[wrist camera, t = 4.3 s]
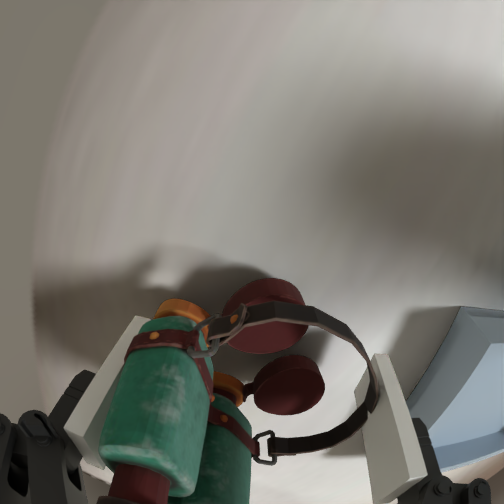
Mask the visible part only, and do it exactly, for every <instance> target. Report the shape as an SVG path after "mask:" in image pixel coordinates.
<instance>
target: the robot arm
mask: <svg viewBox="0 0 504 504" xmlns="http://www.w3.org/2000/svg"><path fill="white" fill-rule="evenodd" d="M150 320H151V319H149V318H145V317H141V316H137V315H135V317H134V318H133V320H132V321H131V323H130V324H129V325H128V327H127V328H126V330H125V331H124V333H123V334H122V336H121V337H120V339H119V340H118V342H117V343H116V345H115V346H114V348H113V349H112V351H111V352H110V354H109V355H108V357H107V358H106V360H105V361H104V363H103V364H102V366H101V367H100V369H99V371H98V372H97V374H95V373H93V372H90V371H87V370H83V371H82V372H81V373H79V374H78V375H76V376H75V377H74V379H73V380H72V382H71V383H70V384H69V387H67V389H66V390H65V392H64V395H62V396H61V398H60V399H59V401H58V402H57V404H56V406H55V407H54V409H53V410H52V412H51V413H50V415H49V416H48V417H47V415H46V414H44V413H43V412H41V411H38V410H31V411H27V412H25V413H24V414H23V415H22V416H21V417H20V419H19V421H18V424H14V423H11V422H10V420H9V419H8V418H7V417H6V416H4V415H3V414H0V504H88V500H87V496H86V491H85V486H84V481H83V475H82V469H81V466H80V461H81V459H82V457H83V458H84V460H85V461H86V462H87V463H89V464H91V465H93V466H95V467H98V468H100V469H103V470H104V469H105V466H106V465H105V464H104V462H103V461H102V459H101V457H100V455H99V452H98V446H99V441H100V435H101V432H102V429H103V425H104V422H105V419H106V416H107V413H108V410H109V407H110V404H111V401H112V399H113V396H114V393H115V390H116V387H117V384H118V382H119V379H120V376H121V373H122V371H123V368H124V357H125V355H126V352H127V349H128V347H129V345H130V343H131V341H132V339H133V337H134V336H136V335H138V332H139V330H140V328H141V327H142V325H143V324H145V323H146V322H147V321H150ZM370 362H371V364H372V367H373V369H374V372H375V374H376V377H377V382H378V390H379V398H378V401H377V404H376V407H375V409H374V411H373V412H372V414H370V413H369V411H368V420H367V421H366V423H365V424H364V425H363V426H362V427H361V429H362V435H363V440H364V446H365V452H366V458H367V464H368V470H369V477H370V484H371V491H372V499H373V504H384V503H390V502H391V501H393V500H394V499H396V498H397V499H398V503H397V504H491V492H490V486H489V484H488V482H487V481H486V480H484V479H481V478H478V479H475V480H473V481H472V482H471V483H469V484H458V483H452V481H451V480H450V479H449V478H448V477H446V476H442V474H441V471H440V468H439V465H438V461H437V458H436V455H435V452H434V448H433V445H432V442H431V439H430V438H429V433H428V430H427V427H426V425H425V424H424V423H423V421H422V420H421V419H420V418H411V416H410V413H409V410H408V407H407V404H406V402H405V399H404V396H403V393H402V390H401V387H400V384H399V382H398V379H397V376H396V374H395V371H394V368H393V366H392V363H391V360H390V358H389V355H388V354H374V355H373V357H372V359H371V361H370ZM369 382H370V378H369V372H368V367H367V369H366V371H365V373H364V374H363V376H362V378H361V380H360V382H359V384H358V385H357V387H356V389H355V391H354V394H355V399H356V403H357V408H358V407H359V406H360V405H361V404H362V403H363V402H364V400H365V397H366V393H367V389H368V386H369Z"/></svg>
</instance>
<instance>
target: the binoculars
mask: <svg viewBox="0 0 504 504" xmlns="http://www.w3.org/2000/svg"><path fill="white" fill-rule="evenodd" d="M309 325H312V326H318V327H320V328H322V329H324V330H326V331H328V332H330V333H332V334H334V335H336V336H338V337H340V338H342V339H344V340H346V341H348V342H350V343H352V344H353V346H354V347H355V348H356V349H357V350H358V352H359V353H360V354H361V355H362V356H363V358H364V359H365V360H366V362H367V366H368V372H369V378H370V382H369V386H368V389H367V393H366V397H365V400H364V402H363V403H362V404H361V405H360V406H359V407H358V409H357V410H356V411H355V412H354V413H353V414H352V415H351V416H350V417H349V418H348V419H347V420H346V421H345V422H344V423H342V424H340V425H339V426H337V427H335V428H333V429H332V430H330V431H328V432H324V433H320V434H316V435H312V436H306V437H295V438H280V437H275V433H274V432H273V431H271V430H268V431H265V432H262V433H259V434H257V435H256V436H255V437H254V438H253V439H252V427H251V425H250V423H249V421H248V420H247V419H246V417H245V416H244V415H243V414H242V413H241V411H240V410H239V409H238V408H237V407H239V406H240V405H241V404H242V402H245V401H246V398H247V396H249V395H250V394H254V402H255V404H256V406H257V407H258V408H259V409H261V410H263V411H265V412H268V413H271V414H276V415H294V414H299V413H302V412H304V411H307V410H308V409H310V408H312V407H313V406H314V405H316V404H317V403H318V402H319V401H320V399H321V398H322V396H323V394H324V390H325V383H324V381H323V378H322V376H321V373H320V371H319V368H318V366H317V365H316V363H315V362H314V361H312V360H311V359H310V358H307V357H305V356H300V355H288V356H283V357H280V358H277V359H275V360H273V361H272V362H270V363H268V364H267V365H266V366H265V367H263V368H262V369H261V370H260V371H259V372H258V374H257V375H256V377H255V378H254V381H253V382H252V383H248V384H245V385H244V384H243V383H242V382H241V381H239V380H238V379H236V378H235V377H232V376H230V375H227V374H224V373H221V372H216V371H214V369H213V364H212V361H211V356H213V355H215V354H216V352H217V351H218V349H219V346H221V345H223V344H225V343H228V344H229V345H230V346H231V347H233V348H235V349H237V350H240V351H243V352H248V353H255V354H266V353H274V352H278V351H281V350H284V349H287V348H289V347H290V346H292V345H294V344H295V343H296V342H298V341H299V340H300V339H301V338H302V337H303V335H304V334H305V333H306V331H307V329H308V326H309ZM208 347H211V349H209V350H208ZM378 398H379V390H378V382H377V377H376V374H375V372H374V369H373V367H372V364H371V362H370V360H369V357H368V355H367V353H366V351H365V349H364V347H363V345H362V343H361V342H360V341H359V340H358V338H357V337H356V336H355V335H354V333H353V332H352V331H351V330H350V328H349V327H348V326H347V325H346V324H345V323H343V322H341V321H339V320H337V319H335V318H334V317H332V316H330V315H328V314H326V313H324V312H323V311H321V310H319V309H317V308H315V307H313V306H307V305H305V303H304V301H303V298H302V296H301V294H300V292H299V290H298V289H297V288H296V287H295V286H294V285H292V284H291V283H290V282H287V281H285V280H282V279H276V278H265V279H260V280H256V281H254V282H251V283H249V284H247V285H246V286H244V287H242V288H241V289H239V290H238V291H237V292H236V293H235V294H234V295H233V296H232V297H231V298H230V299H229V300H228V302H227V303H226V305H225V307H224V309H223V313H222V314H219V313H217V314H214V315H212V316H210V315H209V314H208V313H207V312H206V311H205V310H203V309H202V308H201V307H199V306H197V305H195V304H193V303H191V302H189V301H185V300H182V299H168V300H166V301H164V302H163V303H162V304H161V305H160V307H159V308H158V310H157V312H156V314H155V316H154V318H153V320H150V321H147V322H146V323H145V324H143V325H142V327H141V328H140V330H139V332H138V335H136V336H134V337H133V339H132V341H131V343H130V345H129V347H128V349H127V352H126V355H125V357H124V368H123V371H122V373H121V376H120V379H119V382H118V384H117V387H116V390H115V393H114V396H113V399H112V401H111V404H110V407H109V410H108V413H107V416H106V419H105V422H104V425H103V429H102V432H101V435H100V441H99V446H98V452H99V455H100V457H101V459H102V461H103V462H104V464H105V465H106V466H107V467H108V468H109V469H110V470H111V471H112V472H113V473H114V476H113V480H112V483H111V487H110V490H109V494H108V496H100V497H99V498H98V501H97V504H249V497H250V480H251V458H252V457H253V460H255V461H256V462H257V463H259V464H265V465H271V466H272V465H275V464H276V462H277V456H284V455H287V456H290V455H296V454H301V453H310V452H315V451H319V450H323V449H327V448H331V447H334V446H336V445H338V444H339V443H341V442H343V441H345V440H347V439H348V438H350V437H352V436H353V435H354V434H355V433H356V432H357V431H358V430H359V429H360V428H361V427H362V426H363V425H364V424H365V423H366V421H367V420H368V411H369V413H370V414H372V412H373V411H374V409H375V407H376V404H377V401H378ZM269 434H270V435H271V438H268V439H267V444H268V456H270V457H272V461H266V460H260V459H259V458H258V456H260V446H259V442H258V439H259V438H260V437H262V436H266V435H269Z"/></svg>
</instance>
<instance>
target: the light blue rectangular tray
mask: <svg viewBox="0 0 504 504" xmlns="http://www.w3.org/2000/svg"><path fill="white" fill-rule="evenodd" d="M406 404H407V407H408V410H409V413H410V416H411V418H420V419H421V420H422V421H423V423H424V424H425V425H426V427H427V430H428V433H429V438H430V439H431V442H432V445H433V448H434V452H435V455H436V458H437V461H438V465H439V468H440V471H441V472H445V471H449V470H452V469H456V468H459V467H463V466H466V465H469V464H472V463H475V462H478V461H481V460H484V459H487V458H489V457H492V456H494V455H497V454H500V453H502V452H504V311H500V310H490V309H481V308H471V307H463V306H461V308H460V310H459V312H458V314H457V316H456V318H455V320H454V322H453V324H452V326H451V328H450V330H449V332H448V334H447V336H446V338H445V339H444V341H443V343H442V345H441V347H440V348H439V350H438V352H437V354H436V355H435V357H434V359H433V361H432V362H431V364H430V366H429V367H428V369H427V370H426V372H425V374H424V375H423V377H422V378H421V380H420V381H419V383H418V384H417V386H416V387H415V389H414V390H413V392H412V393H411V395H410V396H409V398H408V399H407V401H406Z"/></svg>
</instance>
